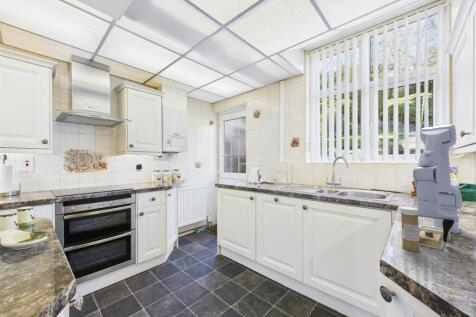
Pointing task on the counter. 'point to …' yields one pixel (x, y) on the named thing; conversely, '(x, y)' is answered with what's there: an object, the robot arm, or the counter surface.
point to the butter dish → (433, 230)
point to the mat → (434, 246)
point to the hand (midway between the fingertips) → (429, 238)
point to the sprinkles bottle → (410, 228)
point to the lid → (430, 238)
